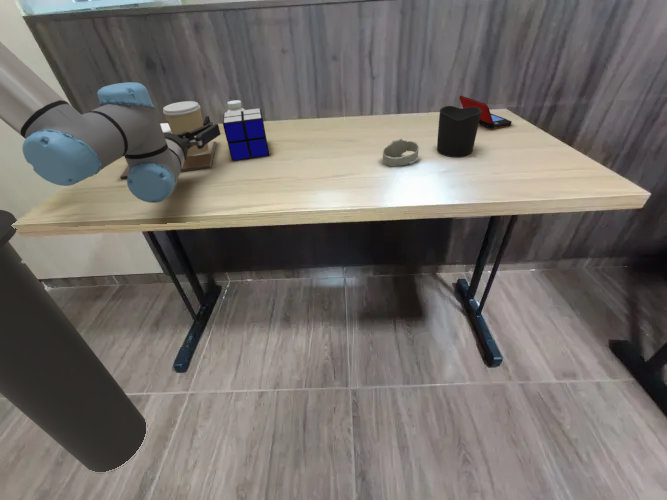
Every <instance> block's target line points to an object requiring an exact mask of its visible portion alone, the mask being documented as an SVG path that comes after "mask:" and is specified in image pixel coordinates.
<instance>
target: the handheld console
mask: <svg viewBox="0 0 667 500" xmlns="http://www.w3.org/2000/svg"><path fill="white" fill-rule="evenodd" d="M458 99H459V101H460V104H461V107H462V109H463V108H469V107H477V108H480V109H481V116H480V120H479V125H481V126H483V127H485V128H488V129H490V130H494V129H499V128H503V127H508V126H511V125H512V123H513V121H511V120H510V119H507V118H506V117H505V118H504V117H502V116H500V115H496V114H493V113H491V110H490V107H489V105H488V104H487V103H485V102H481V101H479V100H476V99H473V98H470V97H466V96H463V95H460V96H459V98H458Z"/></svg>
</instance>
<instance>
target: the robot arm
mask: <svg viewBox="0 0 667 500" xmlns="http://www.w3.org/2000/svg"><path fill="white" fill-rule="evenodd" d="M97 98H98V101H99V105H100V106H99V107H96V108H94V109H92V110H89V111H86V112H85V113H80V112H79V110H77V109H76V108H74V107H73V106H72V104H70V103H69V102H68V101H66V100H65V99H64V98H63V97H62V96H61V95H60V94H59V93H57V92H56V91H55V90H54V89H53V88H52V87H51V86H50V85H48V84H47V82H45V81H44V80H43V79H42V78H41V77H40V76H39V75H38V74H36V73H35V72H34V70H33V69H32V68H30V67H29V66H28V65H27V64H26V63H24V62H23V61H22V60H21V59H20V58H19V57H18V56H17V55H16V54H14V52H12V51H11V50H10V49H9V48H8V47H7V46H6V45H5V44H4V43H3V42H2V41H0V120H2V121H3V122H4V123H5V124H6V125H8V126H9V127H10V128H11V129H12V130H13V131H15V132H16V133H17V134H19V136H21V137H22V138H23V139H24V140H23V143H22V154H23V156H24V159H25V161H26V162H27V163H28V164H30V165H31V166H32V168H33V171H34V172H35V173H36V174H37V175H38V176H39V177H41V178H42V179H43V180H45V181H47V182H49V183H51V184H54V185H57V186H63V187H70V186H73V185H76V184H78V183H80V182H82V181H84V180H86V179H88V178H92V177H93V176H95V175H97V174H99V172H101V171H103V170H104V169H105V168H106V167H108V166H110V165H111V164H113V163H114V162H116V161H118V160H120V159H121V158H123V157H124V160H125V161H126V164H127V167H128V166H129V168H130V170H129V173H128V177H127V179H126V185H127V187H128V190H129V191H130V193H131V194H132V195H133V196H134V197H135V198H137V199H138V200H140V201H141V202H146V203H149V204H150V203H151V204H158V203H161V202H164V201H166V200H167V199H168V198H169V197H170V196H171V195H172V193H173V191H174V190H175V189H176V187H177V183H178V181H179V178H180V174H181V173H182V172H181V169H182V167H183V164H184V162H185V160H186V157H187V152H188V149H190V148H191V147H193V146H197V147H198V149H202V148H203V147H204V146H205V145H206V144H207V143H209V142H213V140H215V139H216V138H217V137H220V135H221V131H220V127H219V124H218V123H213V121H211V119H210V115H209V116H208V115H206V116H205V118H204V119H203V126H202V127H200V128H197V129H195V130H193V131H190V132H186V131H184V132H182V133H179V134H172V133H168V132H163V131H162V128H161V125H160V124H161V123H160V122H161V121H160V119H159V117H158V113H157V109H156V106H155V105H154V104H153V101H152V97H151V96H150V93H149V91H148V89H147V87H146V86H145V85H144V84H142V83H140V82H136V81H135V82H133V81H131V82H128V81H127V82H119V83H113V84H110V85H105V86H102V87H101V88H100V89H98V90H97ZM183 136H185V137H183Z"/></svg>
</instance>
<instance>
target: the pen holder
mask: <svg viewBox="0 0 667 500" xmlns="http://www.w3.org/2000/svg"><path fill="white" fill-rule="evenodd" d="M480 116H481V109H480V108H477V107H469V108H463V107H458V106H452V105H446V106H442V107H441V108H439V116H438V117H439V118H438V127H437V129H438V130H437V142H436V150H437V152H438V153H439V154H441V155H443V156H446V157H450V158H451V157H452V158H460V157H461V158H463V157H466V156H469V155H471V153H472V152H473V149H474V146H475V142H476V138H477V133H478V128H479V125H480V124H479V120H480Z"/></svg>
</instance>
